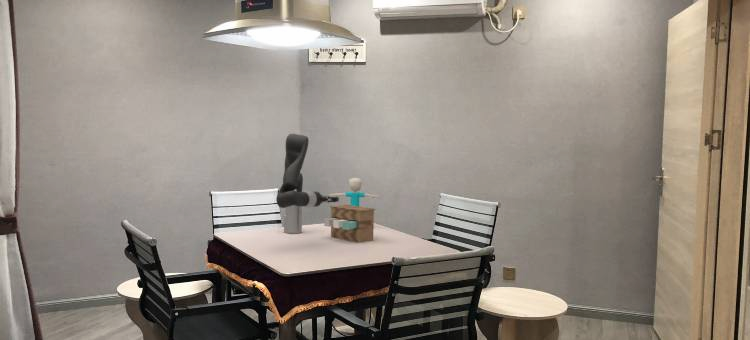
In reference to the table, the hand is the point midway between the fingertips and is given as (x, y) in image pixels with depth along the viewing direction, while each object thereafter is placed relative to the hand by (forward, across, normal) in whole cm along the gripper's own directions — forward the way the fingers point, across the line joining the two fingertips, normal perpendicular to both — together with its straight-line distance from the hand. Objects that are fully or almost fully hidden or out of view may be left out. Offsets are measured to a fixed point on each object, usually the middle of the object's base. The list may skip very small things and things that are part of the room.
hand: (331, 198), depth 339 cm
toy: (+45, +20, +18) cm, 52 cm away
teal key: (+8, -7, +15) cm, 18 cm away
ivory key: (+9, 0, +14) cm, 17 cm away
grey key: (+10, +7, +14) cm, 18 cm away
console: (+17, -1, +21) cm, 27 cm away
